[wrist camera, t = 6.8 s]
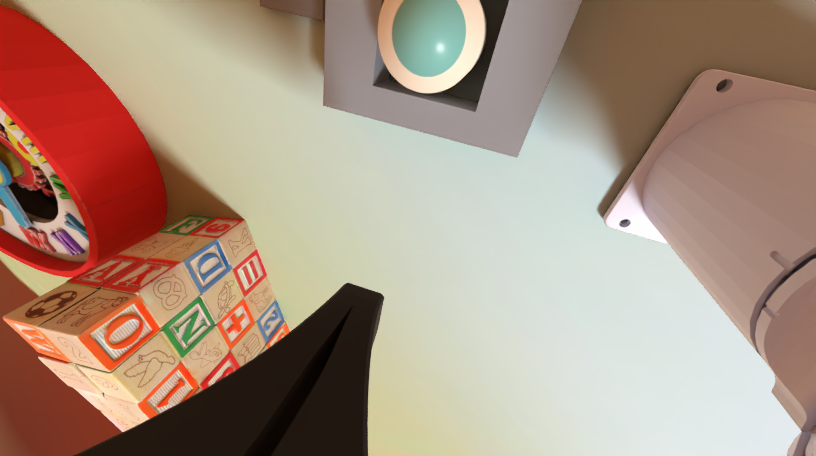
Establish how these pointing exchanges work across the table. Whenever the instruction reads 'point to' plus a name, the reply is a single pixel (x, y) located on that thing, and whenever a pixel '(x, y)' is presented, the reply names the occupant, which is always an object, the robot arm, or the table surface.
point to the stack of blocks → (157, 319)
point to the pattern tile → (298, 7)
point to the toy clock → (68, 158)
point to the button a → (431, 41)
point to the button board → (436, 112)
